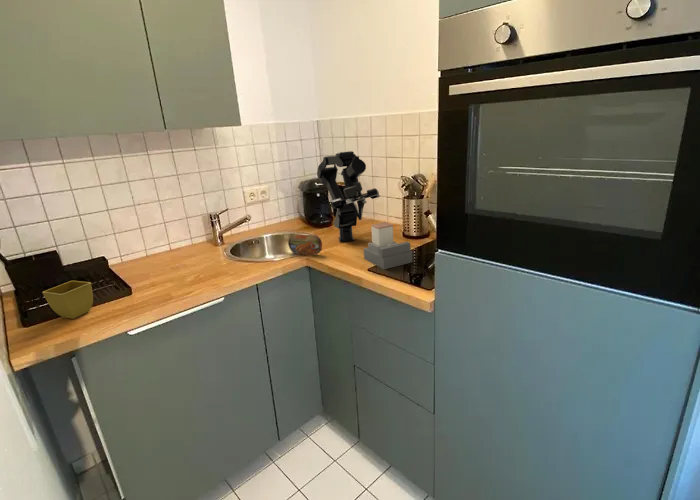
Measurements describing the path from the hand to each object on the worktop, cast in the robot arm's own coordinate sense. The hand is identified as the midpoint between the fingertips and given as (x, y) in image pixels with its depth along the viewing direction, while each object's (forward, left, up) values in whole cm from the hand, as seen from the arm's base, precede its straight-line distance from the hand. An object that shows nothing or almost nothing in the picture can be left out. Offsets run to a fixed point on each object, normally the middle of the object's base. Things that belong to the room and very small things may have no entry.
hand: (360, 219), depth 149 cm
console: (+16, +7, -12) cm, 21 cm away
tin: (-2, -23, -13) cm, 26 cm away
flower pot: (+33, -92, -13) cm, 98 cm away
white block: (+13, +6, -8) cm, 16 cm away
